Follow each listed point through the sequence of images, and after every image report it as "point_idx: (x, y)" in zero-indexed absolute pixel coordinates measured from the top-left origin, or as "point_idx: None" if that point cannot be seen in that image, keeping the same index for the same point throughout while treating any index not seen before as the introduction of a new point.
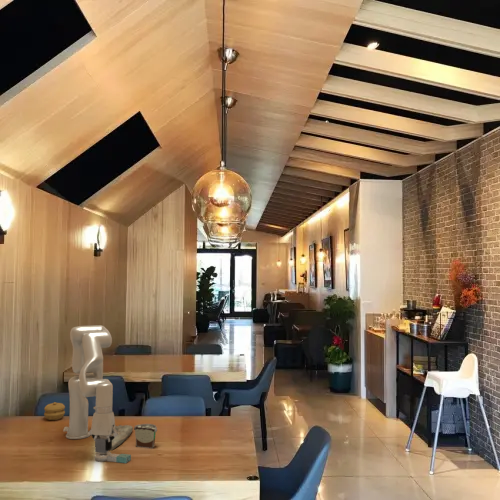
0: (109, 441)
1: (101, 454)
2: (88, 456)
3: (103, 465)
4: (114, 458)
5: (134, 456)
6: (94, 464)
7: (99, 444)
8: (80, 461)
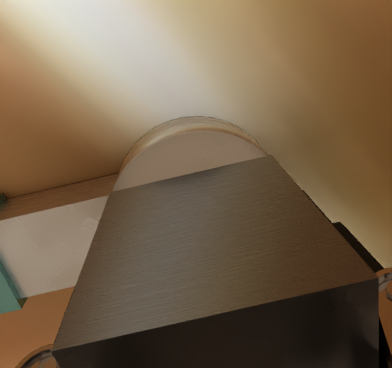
0: (38, 363)
1: None
2: (385, 180)
3: (37, 53)
4: (18, 209)
5: (3, 361)
6: (158, 25)
7: (216, 226)
8: (380, 23)
